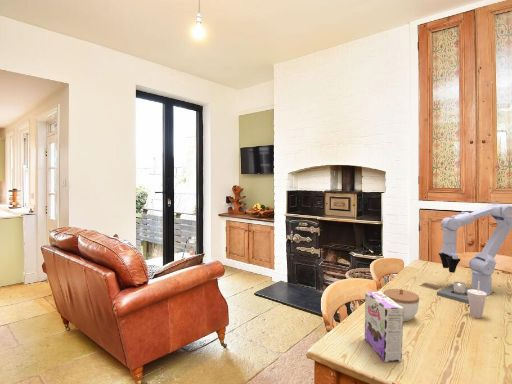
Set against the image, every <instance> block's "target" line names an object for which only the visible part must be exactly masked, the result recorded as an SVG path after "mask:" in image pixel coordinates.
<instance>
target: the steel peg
mask: <svg viewBox="0 0 512 384" xmlns="http://www.w3.org/2000/svg"><path fill="white" fill-rule="evenodd" d="M453 284H454V292H453V293H454V294H458V295H461V296H465V287H466V283H464V282H461V281H454V282H453Z"/></svg>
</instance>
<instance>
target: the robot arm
mask: <svg viewBox="0 0 512 384" xmlns="http://www.w3.org/2000/svg"><path fill="white" fill-rule="evenodd" d="M487 216H491V218H493V219H494V221H495V222H496V224H497V225H496V227H495V228H494V229H493V231H492V233H491V235H490V237H489V239H488V240H487V242H486V244H485V245H484V247H483V249H482V250H481V252H478V253H476V254H475V255H474V257H472V258H471V259H470V260H469V262H468V266H469V268H470V269H471V289H475V290H478V281H480V287H479V290H480V291H483V292H486V294H487V296H489V295H491V294H492V293H493V292H495V291H494V289H492V281H493V279H492V275H493V274H494V272H495V268H496V265H497V262H496V260H495V258H496V256H497V254H498V252H499V251H500V250H501V247H502V246H503V244H504V242H505V240H506V239H507V237H508V235H509V234H510V233H511V231H512V205H511V204H500V203H499V204H498V203H492V204H488V205H486V206H484V207H482V208H480V209H477V210H475V211H472V212H468V211H461V212H460V213H459V214H455V215H451V216H450V217H444V218H443V219H442V220H441V222H440V227H441V229H442V247H441V249H440V250H439V253H438V256H439V257H440V261H441V264H442V265H441V266H442V268H443V269H448V272H449V273H451V274H455V272H456V270H457V267H458V265H459V263H460V262H461V258H459V254H458V252H457V239H458V238H457V236H458V230H459V229H460V228H461V227H464V226H467V225H471V224H472V223H473V222H474V220H477V219H481V218H484V217H487Z"/></svg>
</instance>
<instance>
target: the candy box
mask: <svg viewBox="0 0 512 384" xmlns="http://www.w3.org/2000/svg"><path fill="white" fill-rule="evenodd" d="M364 296H365V298H364V300H365V303H364V304H365V308H364V309H365V310H364V340H365V341H366V342H367V343H368V344H369V346H370V347H371V348H372V349H373V350H374V351H375V353H376V354H377V355H378V356H379V357H380V359H381V360H382V361H383V362H385V363H392V362H395V363H396V362H398V363H399V362H402V361H403V360H402V358H403V333H404V332H403V330H404V328H403V327H404V321H403V309H404V308H403V307H402V306H400V305H398V304H397V303H396V302H394V301H393V300H392V299H390V298H389V297H388V296H386V295H385V294H384V292H382V291H381V290H377V291H376V290H374V291H365V295H364Z"/></svg>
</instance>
